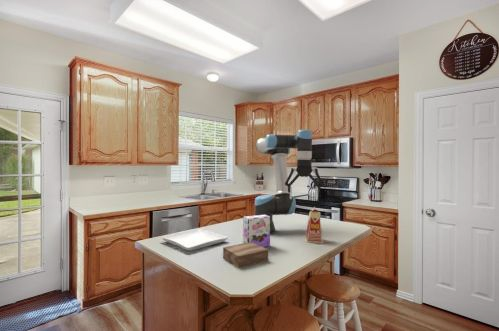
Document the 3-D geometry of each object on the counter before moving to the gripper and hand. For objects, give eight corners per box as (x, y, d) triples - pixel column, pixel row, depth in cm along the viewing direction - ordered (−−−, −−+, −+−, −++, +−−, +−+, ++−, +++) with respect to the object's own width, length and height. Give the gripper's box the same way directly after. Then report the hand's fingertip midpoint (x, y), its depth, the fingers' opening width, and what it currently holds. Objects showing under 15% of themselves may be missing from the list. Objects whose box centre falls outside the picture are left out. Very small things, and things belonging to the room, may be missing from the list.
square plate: (188, 255, 130) (188, 247, 130) (159, 243, 148) (160, 236, 148) (228, 242, 150) (228, 236, 150) (199, 233, 168) (199, 227, 168)
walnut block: (223, 257, 125) (223, 247, 125) (251, 251, 134) (251, 241, 134) (238, 267, 114) (238, 256, 114) (268, 260, 123) (268, 249, 123)
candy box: (247, 250, 137) (247, 218, 136) (242, 246, 142) (242, 216, 142) (270, 246, 143) (270, 216, 143) (264, 243, 148) (265, 214, 148)
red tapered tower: (323, 243, 149) (323, 207, 149) (306, 242, 151) (306, 207, 151) (322, 238, 158) (322, 205, 158) (306, 237, 160) (306, 204, 160)
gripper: (280, 158, 138) (280, 199, 139) (329, 159, 136) (329, 200, 137) (280, 158, 145) (279, 197, 146) (326, 159, 143) (326, 198, 144)
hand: (303, 199), depth 141 cm, fingers open, 13 cm apart
